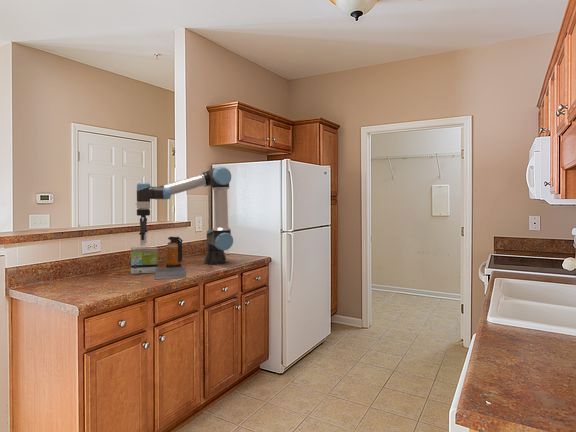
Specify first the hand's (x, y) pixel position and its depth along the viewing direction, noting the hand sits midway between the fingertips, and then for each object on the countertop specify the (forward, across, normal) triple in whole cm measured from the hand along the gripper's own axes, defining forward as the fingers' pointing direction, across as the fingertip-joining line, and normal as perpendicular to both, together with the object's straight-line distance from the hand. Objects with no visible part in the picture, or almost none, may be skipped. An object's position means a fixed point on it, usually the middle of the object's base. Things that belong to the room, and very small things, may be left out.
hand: (143, 244), depth 236 cm
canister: (+17, -12, +18) cm, 28 cm away
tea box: (+17, 0, 0) cm, 17 cm away
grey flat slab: (+16, +16, +16) cm, 28 cm away
